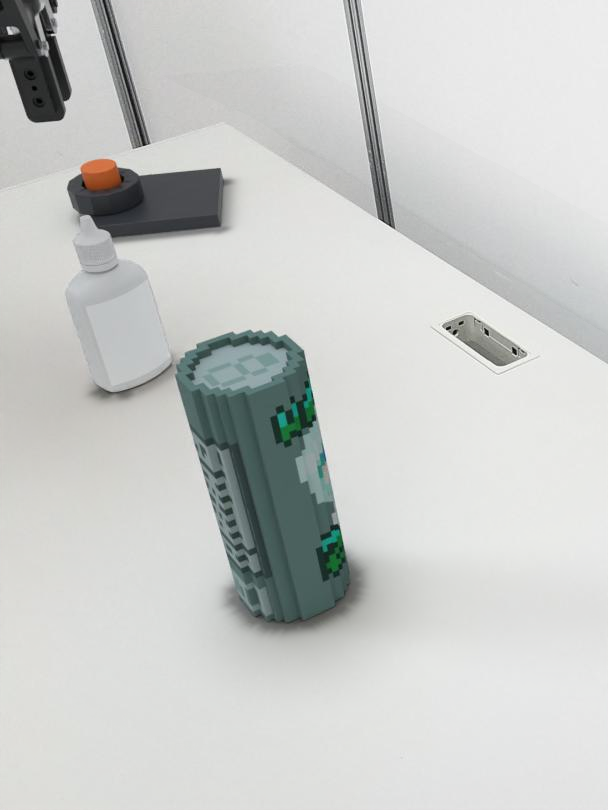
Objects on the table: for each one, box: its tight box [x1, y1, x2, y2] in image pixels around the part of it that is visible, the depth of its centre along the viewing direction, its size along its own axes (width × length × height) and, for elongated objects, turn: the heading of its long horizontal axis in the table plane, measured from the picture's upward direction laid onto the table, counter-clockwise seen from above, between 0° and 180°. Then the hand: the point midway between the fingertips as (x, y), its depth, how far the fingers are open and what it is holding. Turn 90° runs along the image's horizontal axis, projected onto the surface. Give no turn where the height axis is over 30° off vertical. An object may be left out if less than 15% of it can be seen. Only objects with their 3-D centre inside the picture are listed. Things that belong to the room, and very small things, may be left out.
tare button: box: [79, 158, 122, 190], centre depth 107 cm, size 3×3×2 cm
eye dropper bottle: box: [64, 214, 173, 393], centre depth 85 cm, size 4×6×12 cm
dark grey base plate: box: [66, 166, 224, 239], centre depth 109 cm, size 12×10×3 cm
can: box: [174, 329, 351, 624], centre depth 67 cm, size 6×6×15 cm
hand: (51, 108), depth 77 cm, fingers closed
